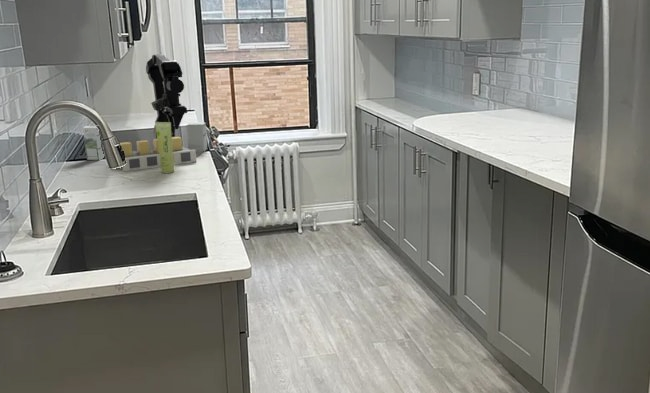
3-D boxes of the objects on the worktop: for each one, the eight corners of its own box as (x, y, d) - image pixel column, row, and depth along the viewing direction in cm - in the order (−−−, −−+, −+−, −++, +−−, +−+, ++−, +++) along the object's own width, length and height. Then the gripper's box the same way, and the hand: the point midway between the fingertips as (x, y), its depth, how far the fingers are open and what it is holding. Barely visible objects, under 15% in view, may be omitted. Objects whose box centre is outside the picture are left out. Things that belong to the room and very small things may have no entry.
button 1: (170, 152, 263) (169, 137, 261) (179, 151, 265) (178, 136, 263) (173, 153, 260) (172, 138, 258) (182, 152, 262) (181, 137, 260)
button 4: (120, 158, 252) (119, 143, 251) (130, 157, 254) (129, 141, 253) (123, 159, 249) (121, 144, 247) (133, 158, 251) (131, 143, 249)
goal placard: (122, 170, 242) (121, 158, 240) (195, 161, 257) (194, 149, 255) (123, 171, 241) (122, 158, 239) (196, 161, 256) (195, 149, 254)
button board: (112, 163, 256) (111, 153, 255) (181, 154, 271) (181, 145, 270) (120, 169, 244) (119, 159, 243) (192, 159, 259) (192, 150, 258)
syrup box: (105, 157, 267) (101, 124, 263) (99, 160, 262) (95, 127, 258) (92, 157, 268) (88, 124, 264) (86, 160, 262) (82, 127, 258)
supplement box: (204, 152, 275) (202, 124, 272) (188, 152, 275) (185, 124, 272) (207, 149, 282) (205, 121, 279) (191, 149, 282) (189, 122, 279)
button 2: (154, 154, 259) (153, 139, 258) (163, 153, 261) (162, 138, 260) (157, 155, 256) (155, 140, 254) (166, 154, 258) (165, 139, 256)
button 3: (137, 156, 256) (136, 141, 254) (147, 155, 258) (145, 140, 256) (140, 157, 253) (138, 142, 251) (150, 156, 255) (148, 141, 253)
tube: (160, 173, 235) (155, 123, 230) (159, 171, 240) (154, 121, 234) (175, 172, 237) (170, 122, 231) (174, 169, 241) (169, 120, 236)
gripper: (145, 91, 259) (149, 127, 263) (159, 94, 244) (162, 133, 248) (171, 89, 265) (174, 125, 269) (186, 92, 249) (189, 130, 253)
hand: (174, 128), depth 260 cm, fingers open, 5 cm apart
